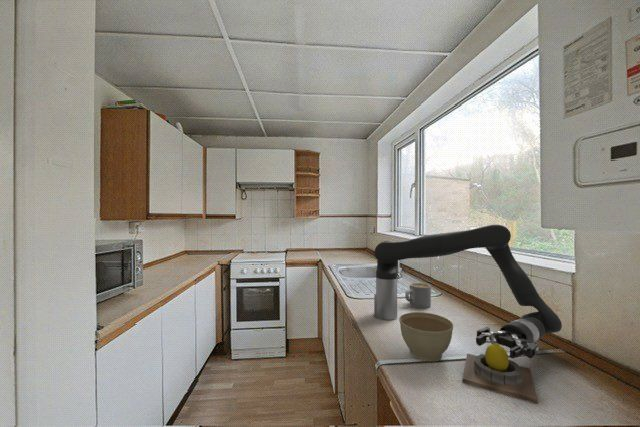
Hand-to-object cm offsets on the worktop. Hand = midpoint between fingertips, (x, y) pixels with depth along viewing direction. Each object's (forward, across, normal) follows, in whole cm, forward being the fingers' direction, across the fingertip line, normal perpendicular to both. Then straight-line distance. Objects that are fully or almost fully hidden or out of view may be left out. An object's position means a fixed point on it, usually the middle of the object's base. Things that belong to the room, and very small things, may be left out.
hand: (493, 347), depth 76 cm
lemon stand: (-2, 0, +8) cm, 9 cm away
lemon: (-2, 0, +8) cm, 8 cm away
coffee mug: (-35, -52, +9) cm, 63 cm away
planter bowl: (+4, -19, +9) cm, 21 cm away
